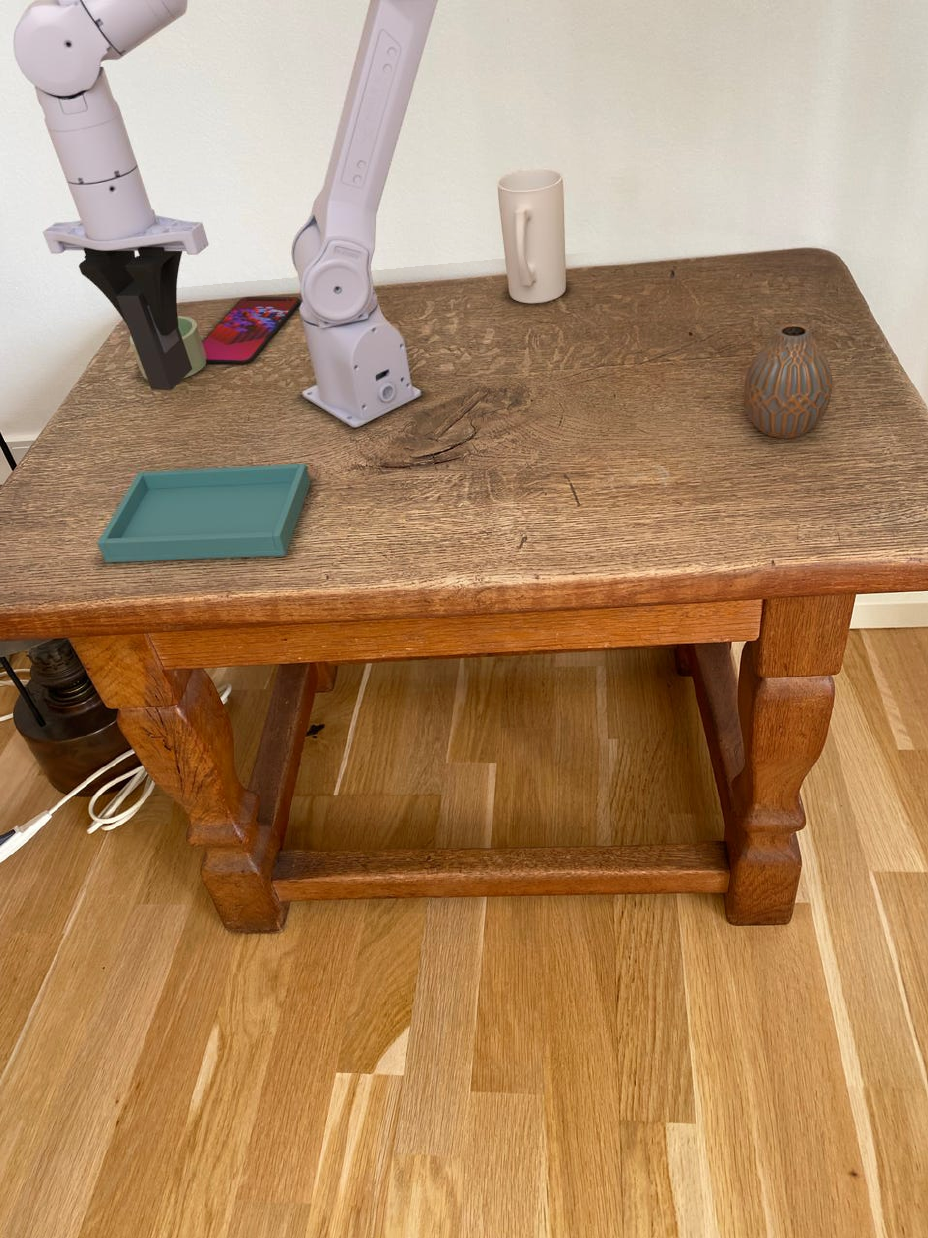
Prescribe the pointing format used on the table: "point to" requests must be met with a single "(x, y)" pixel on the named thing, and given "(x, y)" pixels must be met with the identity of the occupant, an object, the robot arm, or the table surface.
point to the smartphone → (248, 329)
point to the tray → (207, 513)
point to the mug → (533, 233)
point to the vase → (788, 384)
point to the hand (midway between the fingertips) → (156, 329)
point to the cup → (191, 344)
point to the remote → (154, 342)
